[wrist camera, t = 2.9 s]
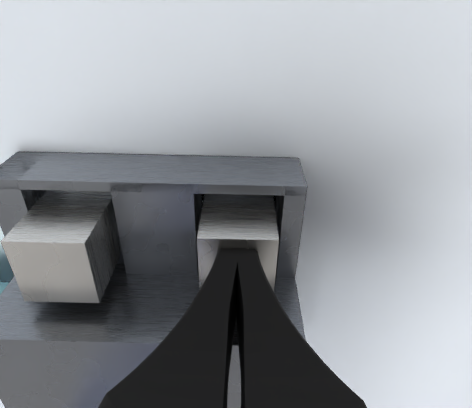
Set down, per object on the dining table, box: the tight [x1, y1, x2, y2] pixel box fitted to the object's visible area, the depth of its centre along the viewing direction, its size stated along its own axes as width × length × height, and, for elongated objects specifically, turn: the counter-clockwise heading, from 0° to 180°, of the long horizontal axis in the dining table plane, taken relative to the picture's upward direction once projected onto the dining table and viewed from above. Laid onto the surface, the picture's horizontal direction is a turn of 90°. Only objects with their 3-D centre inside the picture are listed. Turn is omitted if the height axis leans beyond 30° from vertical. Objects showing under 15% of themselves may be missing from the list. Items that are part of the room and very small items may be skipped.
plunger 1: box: [1, 190, 122, 303], centre depth 15 cm, size 3×3×4 cm
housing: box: [0, 152, 307, 408], centre depth 16 cm, size 10×12×6 cm
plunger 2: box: [197, 194, 279, 291], centre depth 15 cm, size 3×3×4 cm
